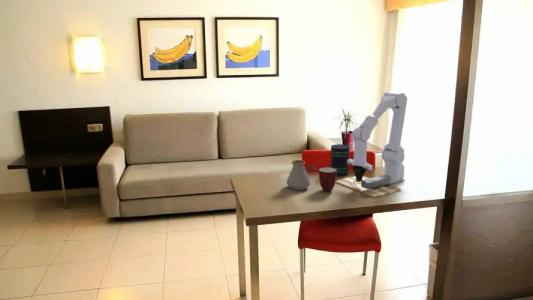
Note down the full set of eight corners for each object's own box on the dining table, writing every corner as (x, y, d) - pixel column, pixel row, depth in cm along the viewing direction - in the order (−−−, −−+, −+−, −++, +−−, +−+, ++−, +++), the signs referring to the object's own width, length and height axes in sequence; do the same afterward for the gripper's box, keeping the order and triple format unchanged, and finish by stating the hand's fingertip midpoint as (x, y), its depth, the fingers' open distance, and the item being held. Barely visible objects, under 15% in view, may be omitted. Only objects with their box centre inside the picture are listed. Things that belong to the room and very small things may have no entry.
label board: (360, 176, 203) (360, 174, 203) (400, 190, 182) (400, 188, 181) (335, 182, 195) (335, 180, 194) (374, 197, 173) (374, 195, 173)
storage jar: (336, 177, 203) (336, 149, 199) (326, 172, 212) (327, 145, 208) (352, 175, 206) (353, 147, 203) (342, 170, 215) (343, 143, 211)
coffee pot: (282, 185, 191) (282, 156, 187) (303, 182, 195) (303, 153, 192) (304, 200, 172) (304, 167, 168) (326, 195, 176) (327, 163, 173)
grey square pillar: (386, 183, 189) (386, 174, 188) (392, 185, 186) (393, 176, 185) (360, 189, 181) (361, 180, 180) (367, 191, 177) (367, 182, 176)
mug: (340, 194, 178) (340, 173, 175) (323, 195, 177) (323, 174, 174) (332, 187, 188) (333, 167, 186) (316, 188, 187) (316, 168, 184)
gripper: (343, 151, 186) (342, 178, 189) (365, 157, 174) (363, 186, 177) (354, 149, 190) (352, 176, 193) (376, 155, 178) (375, 184, 181)
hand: (358, 181), depth 185 cm, fingers closed
